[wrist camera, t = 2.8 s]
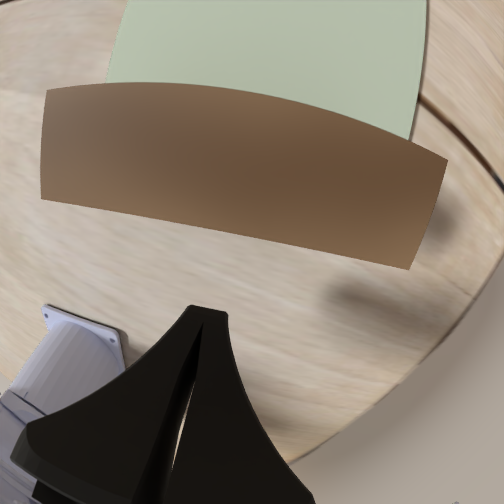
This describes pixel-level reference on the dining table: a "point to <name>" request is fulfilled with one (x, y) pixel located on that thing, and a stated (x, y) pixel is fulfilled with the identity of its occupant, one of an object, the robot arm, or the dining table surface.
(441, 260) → the dining table surface
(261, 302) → the dining table surface
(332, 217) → the slab
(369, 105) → the mat
